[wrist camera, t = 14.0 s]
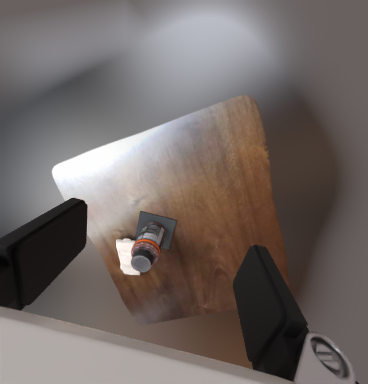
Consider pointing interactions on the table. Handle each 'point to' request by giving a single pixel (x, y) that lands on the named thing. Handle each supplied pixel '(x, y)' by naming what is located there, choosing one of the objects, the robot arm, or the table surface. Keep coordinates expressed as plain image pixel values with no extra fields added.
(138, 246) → the supplement bottle
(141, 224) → the mat
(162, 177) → the table surface
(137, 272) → the toy car
